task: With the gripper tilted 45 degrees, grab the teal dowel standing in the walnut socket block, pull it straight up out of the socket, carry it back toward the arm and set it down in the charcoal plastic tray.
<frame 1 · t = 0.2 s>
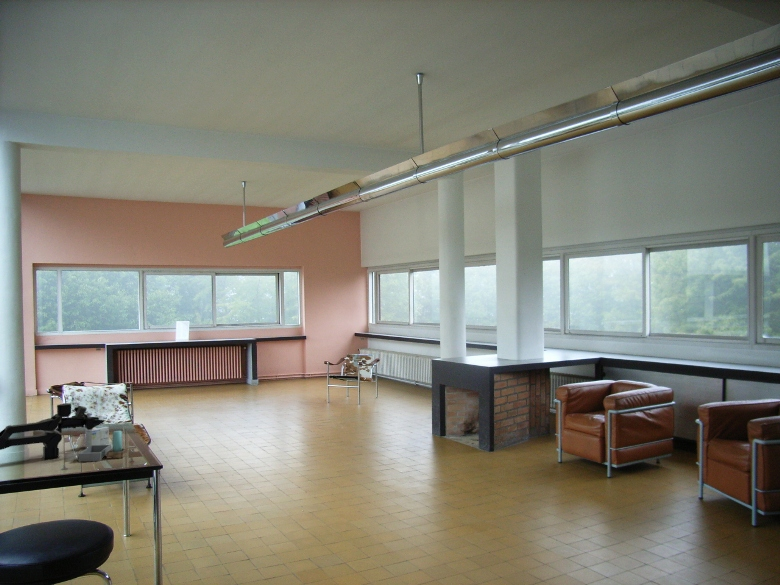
hand: (101, 419, 343), 17 cm above the table, tool horizontal, fingers open, 9 cm apart
light bulb box: (97, 447, 350), on the table
dowel: (117, 443, 330), in the socket block
tray: (95, 456, 329), on the table
socket block: (117, 456, 330), on the table
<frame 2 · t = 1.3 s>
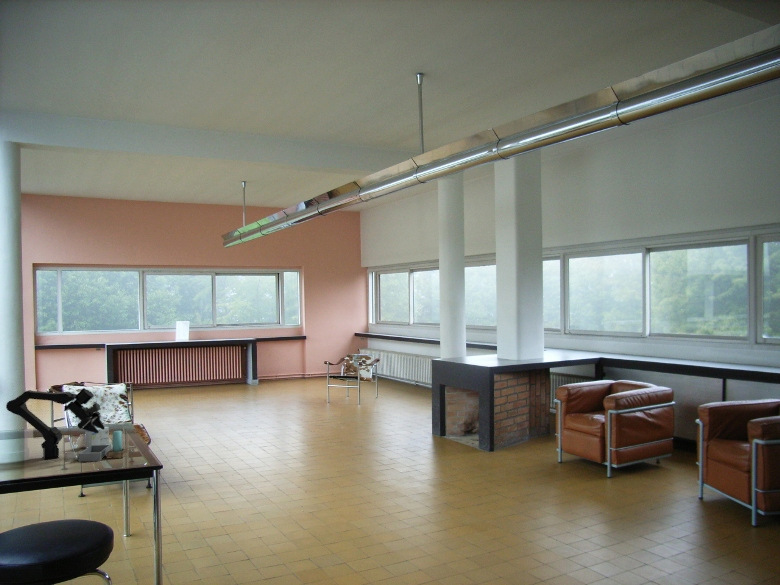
hand: (101, 430, 329), 14 cm above the table, tool tilted 45°, fingers open, 9 cm apart
nothing on the table moved.
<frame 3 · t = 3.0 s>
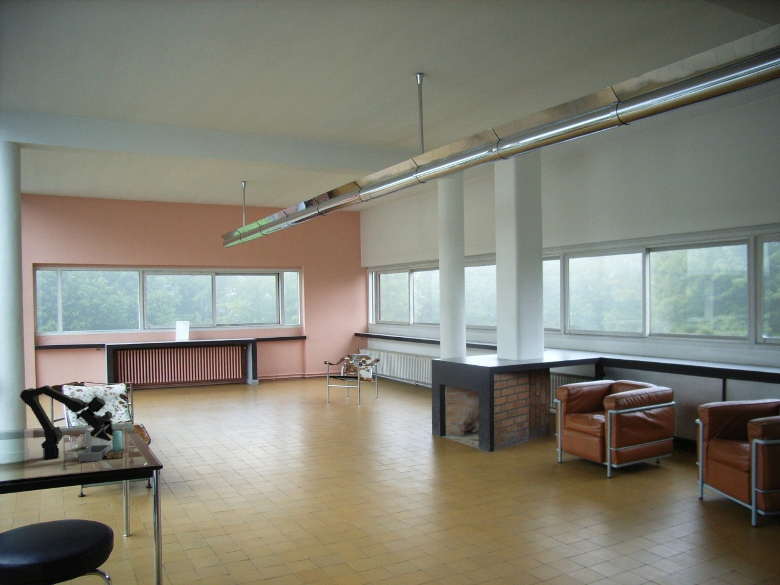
hand: (113, 438, 330), 9 cm above the table, tool tilted 45°, fingers open, 9 cm apart
nothing on the table moved.
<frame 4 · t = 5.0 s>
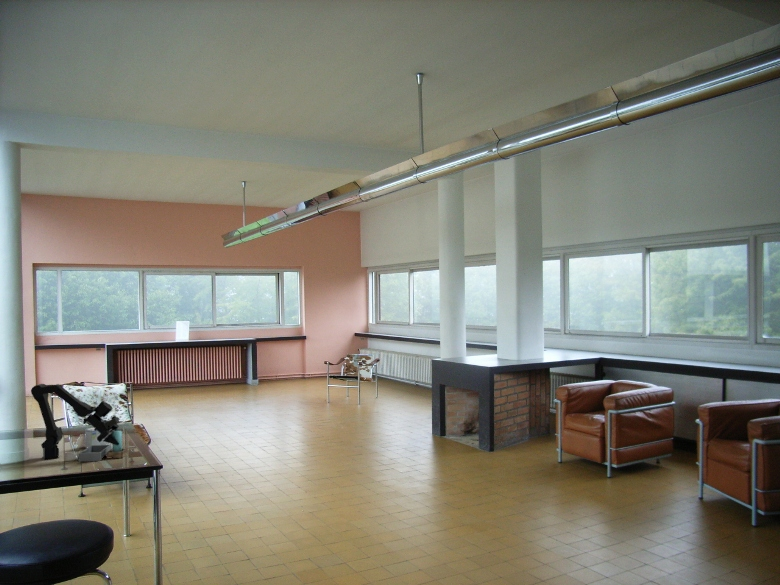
hand: (119, 443, 330), 7 cm above the table, tool tilted 45°, fingers closed on dowel, 4 cm apart
dowel: (117, 443, 330), in the socket block, touching gripper
everything else where it was.
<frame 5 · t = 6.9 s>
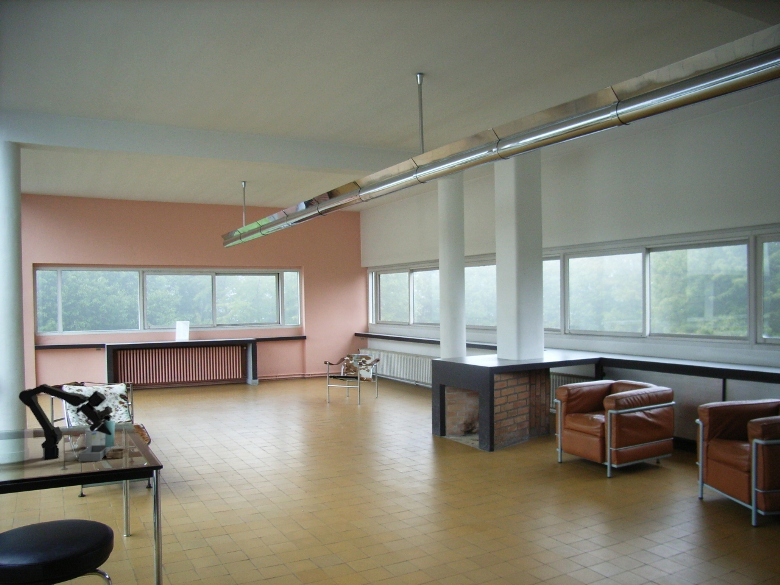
hand: (112, 433, 330), 12 cm above the table, tool tilted 45°, fingers closed on dowel, 4 cm apart
dowel: (109, 433, 330), point 12 cm above the table, touching gripper
everything else where it was.
when the fingers open (10 cm above the table, at t = 8.9 s): dowel drops 2 cm, resting on tray.
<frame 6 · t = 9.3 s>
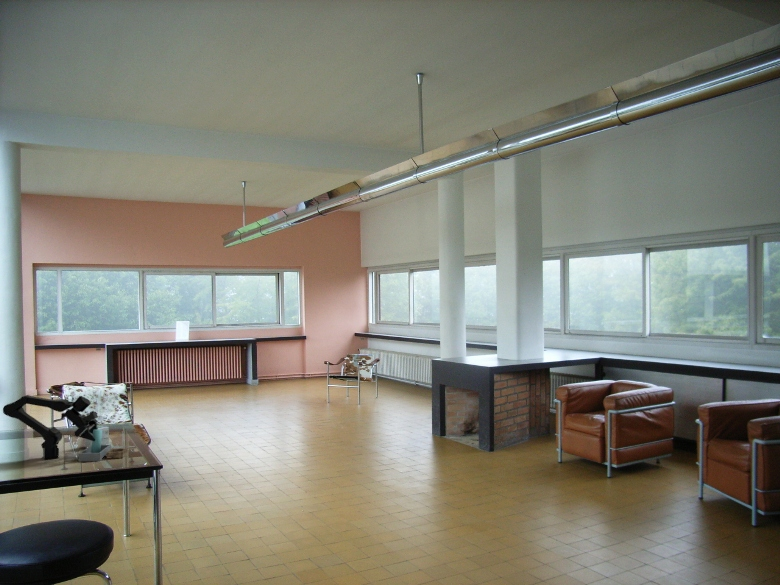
hand: (98, 438, 329), 10 cm above the table, tool tilted 45°, fingers open, 9 cm apart
dowel: (96, 442, 329), in the tray, point 8 cm above the table, tilted 5°
everything else where it was.
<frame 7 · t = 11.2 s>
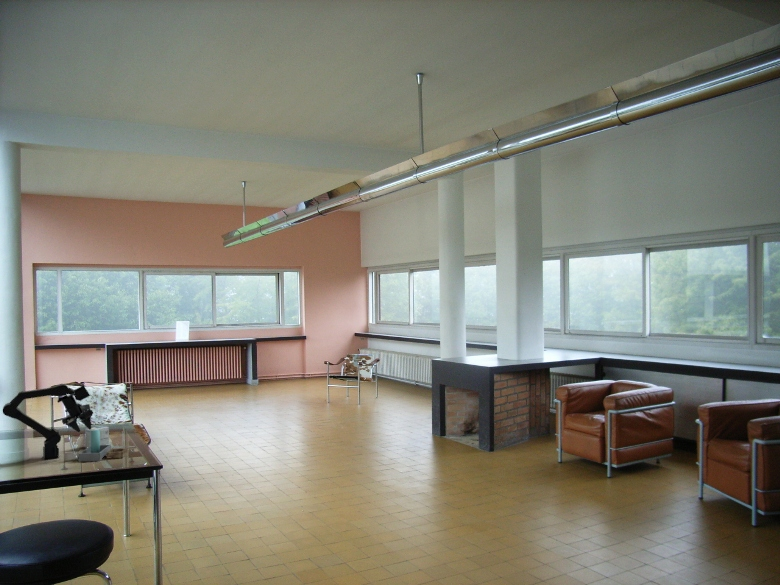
hand: (85, 430, 334), 13 cm above the table, tool tilted 25°, fingers open, 9 cm apart
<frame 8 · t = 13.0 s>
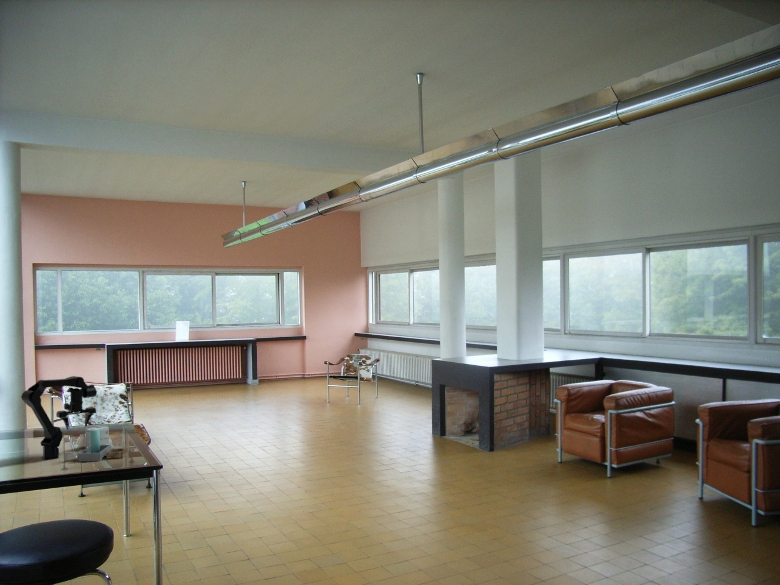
hand: (76, 428, 339), 13 cm above the table, tool pointing down, fingers open, 9 cm apart
nothing on the table moved.
at the end: dowel inside the target area on the tray (0.0 cm from its centre), point 7.3 cm above the tray's base; dowel moved 11.1 cm from its start; the gripper is holding nothing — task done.
